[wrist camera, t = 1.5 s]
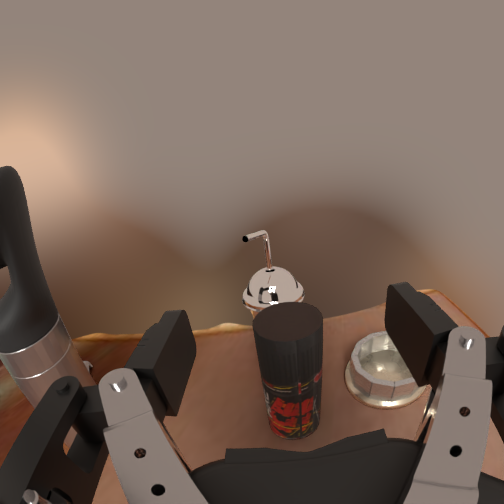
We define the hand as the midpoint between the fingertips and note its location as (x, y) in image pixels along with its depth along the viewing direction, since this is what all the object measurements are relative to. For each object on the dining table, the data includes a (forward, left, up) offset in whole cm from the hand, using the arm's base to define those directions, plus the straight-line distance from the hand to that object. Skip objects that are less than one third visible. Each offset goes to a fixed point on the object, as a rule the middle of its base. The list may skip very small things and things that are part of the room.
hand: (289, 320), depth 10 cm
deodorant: (0, +11, -22) cm, 25 cm away
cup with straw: (-2, +24, -22) cm, 33 cm away
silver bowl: (+13, +16, -22) cm, 30 cm away
